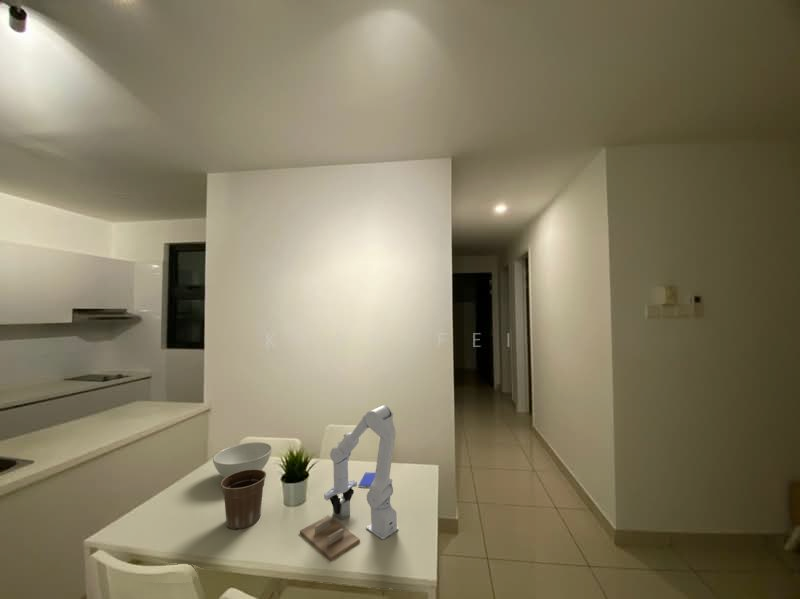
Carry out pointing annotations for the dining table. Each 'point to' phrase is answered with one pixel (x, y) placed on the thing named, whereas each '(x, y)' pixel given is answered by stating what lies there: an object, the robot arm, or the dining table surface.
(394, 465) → the dining table surface
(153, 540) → the dining table surface
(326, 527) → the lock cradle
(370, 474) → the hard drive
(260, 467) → the decorative bowl
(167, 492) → the dining table surface
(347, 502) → the block
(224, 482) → the plant pot
